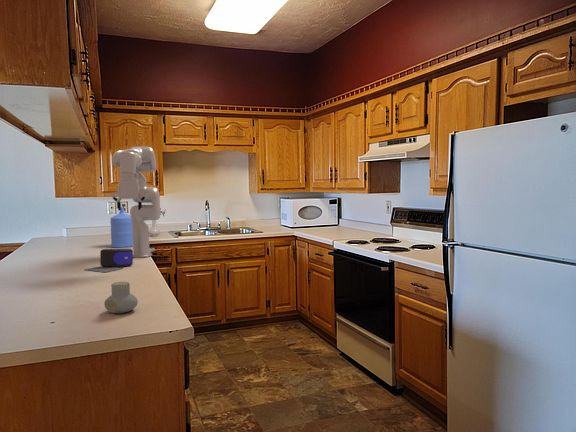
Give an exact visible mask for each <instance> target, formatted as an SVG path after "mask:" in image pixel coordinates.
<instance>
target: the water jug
mask: <svg viewBox="0 0 576 432" xmlns="http://www.w3.org/2000/svg"><path fill="white" fill-rule="evenodd" d="M118 211H119V212H118V214H116V215H114V216H111V218H110V237H111V238H110V239H111V240H110V241H111V243H110V244H111V248H112V249H128V248H133V233H132V220H131V215H129V214H127V213H125V207H122V206H121V210H118Z"/></svg>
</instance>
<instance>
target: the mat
mask: <svg viewBox="0 0 576 432" xmlns="http://www.w3.org/2000/svg"><path fill="white" fill-rule="evenodd" d="M123 269H124V268H123V267H102V266H101V265H99V266H94V267H90V268H86V269H85V268H84V269H83V270H84V271H87V272H96V273H104V274H106V273H113V272H116V271H120V270H123Z"/></svg>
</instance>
